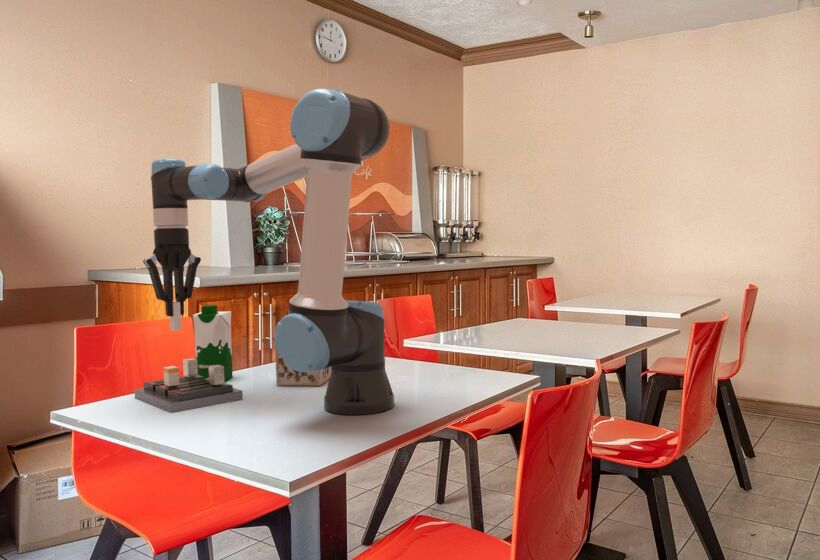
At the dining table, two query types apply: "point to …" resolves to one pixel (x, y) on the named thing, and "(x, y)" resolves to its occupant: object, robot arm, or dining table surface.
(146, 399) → the breaker panel
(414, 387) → the dining table surface
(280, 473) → the dining table surface
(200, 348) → the milk carton
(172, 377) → the toggle
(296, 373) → the decorative jar
